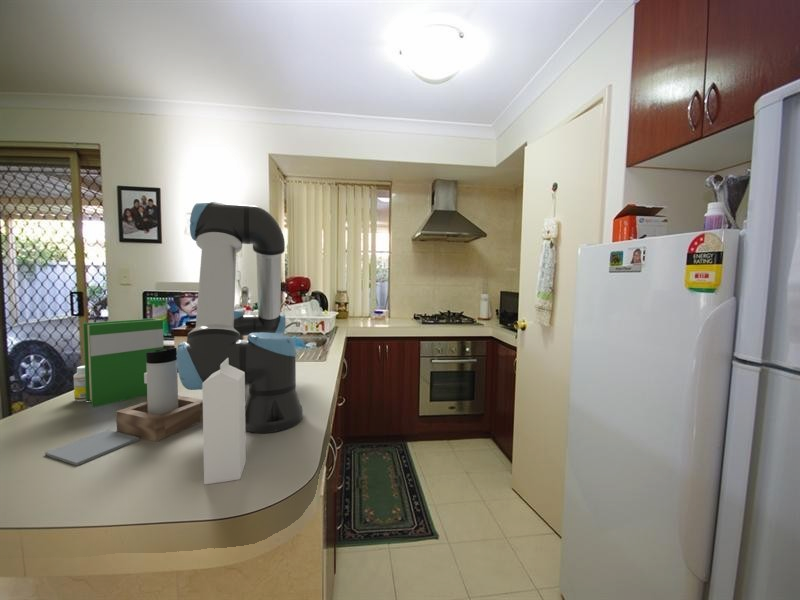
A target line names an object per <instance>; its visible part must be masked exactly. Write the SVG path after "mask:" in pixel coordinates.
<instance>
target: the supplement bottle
mask: <svg viewBox="0 0 800 600" xmlns="http://www.w3.org/2000/svg"><path fill="white" fill-rule="evenodd" d="M74 390H75V391H74ZM73 392H74V396H73V397H74V400H75V401H76V400H77V401H76V402H86V385H85V364H84V365H80V366H77V367H76V373H75V374H73Z"/></svg>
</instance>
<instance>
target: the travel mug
mask: <svg viewBox="0 0 800 600" xmlns="http://www.w3.org/2000/svg"><path fill="white" fill-rule="evenodd" d="M177 348H178V347H168V348H164V349H160V350H156V351H154V352H147V353H146V357H147V362H146V364H147V365H146V367H147V395H146V396H147V397H146V398H147V399H146V400H147V401H146V402H148V413H149V414H154V415H162V414H164V413H167V412H170V411H172V410H175V409H178V395H179V389H178V387H179V385H178V383H179V382H178V381H179V379H178V377H179V374H178V373H177Z"/></svg>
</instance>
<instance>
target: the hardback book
mask: <svg viewBox="0 0 800 600" xmlns="http://www.w3.org/2000/svg"><path fill="white" fill-rule="evenodd" d="M82 325H83V326H82V328H83V329H82V330H83V332H82V333H83V355H84V365H85V385H86V401H91V408H96V407H95V406H97V407H101V406H106V405H110V404H114V403H118V402H121V401H122V402H123V401H127V400H130V399H136V398H140V397H143V396H144V397H146V396H147V383H144V373H147V367H146V365H147V364H146V362H147V357H146V353H147V352H154V351H156V350H160V349H165V347H164V320H163V319H160V318H156V317H155V318H152V317H151V318H140V319H139V318H138V319H124V320H107V321H93V322H83V323H82ZM86 401H85V402H86Z"/></svg>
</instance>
